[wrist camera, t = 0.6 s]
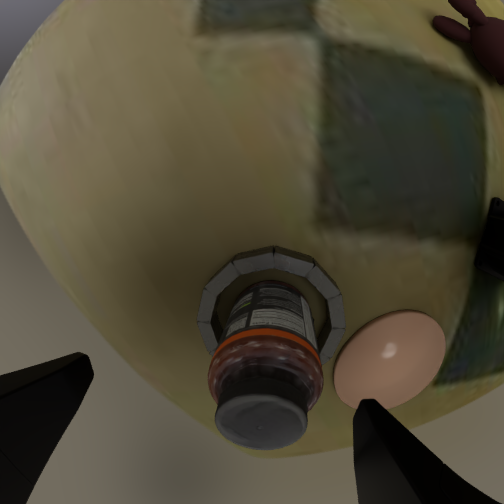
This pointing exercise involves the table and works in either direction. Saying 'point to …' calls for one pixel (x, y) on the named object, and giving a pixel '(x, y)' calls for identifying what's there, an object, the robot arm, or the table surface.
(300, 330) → the supplement bottle
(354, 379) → the terracotta saucer
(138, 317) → the table surface
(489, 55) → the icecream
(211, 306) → the cup collar
